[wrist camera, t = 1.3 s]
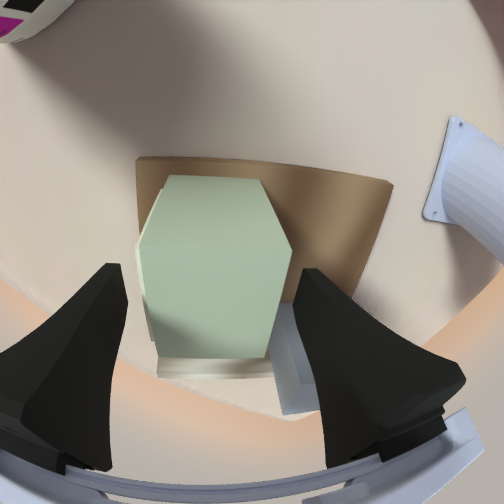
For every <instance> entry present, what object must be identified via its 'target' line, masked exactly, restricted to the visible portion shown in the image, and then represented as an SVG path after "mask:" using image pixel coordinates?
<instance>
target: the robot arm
mask: <svg viewBox="0 0 504 504" xmlns="http://www.w3.org/2000/svg"><path fill="white" fill-rule="evenodd" d="M423 216H424V217H425V218H426V219H428V220H433V221H439V222H445V223H451V224H456V225H460V226H461V227H462V228H464V229H465V230H466V231H467V232H468V233H469V234H471V235H472V236H473V237H474V238H475V239H476V240H477V241H479V242H480V243H481V244H482V245H483V246H484V247H485V248H486V249H487V250H488V251H489V252H490V253H491V254H492V255H494V256H495V257H496V258H497V259H498V260H499V261H500V262H501V263H502V264H503V265H504V147H502V146H500V145H499V144H497V143H496V142H495V141H493V140H492V139H490V138H489V137H488V136H486V135H485V134H483V133H482V132H481V131H479V130H478V129H476V128H475V127H473V126H472V125H470V124H468V123H467V122H465V121H464V120H462V119H460V118H459V117H456V116H451V118H450V120H449V124H448V129H447V133H446V138H445V142H444V146H443V150H442V153H441V157H440V161H439V164H438V168H437V171H436V174H435V177H434V181H433V184H432V187H431V190H430V193H429V196H428V199H427V202H426V204H425V207H424V210H423ZM292 306H293V311H294V317H295V321H296V326H297V329H298V332H299V335H300V338H301V341H302V344H303V347H304V349H305V352H306V355H307V358H308V361H309V364H310V367H311V370H312V373H313V377H314V380H315V385H316V390H317V394H318V400H319V405H320V411H321V417H322V425H323V433H324V442H325V455H326V456H325V457H326V466H327V469H326V470H322V471H318V472H314V473H309V474H304V475H299V476H294V477H289V478H283V479H276V480H269V481H262V482H253V483H242V484H226V485H181V484H165V483H154V482H145V481H138V480H131V479H125V478H119V477H114V476H109V475H104V474H100V473H95V472H91V471H87V470H85V469H89V470H98V471H103V472H107V471H109V470H110V469H111V468H112V459H111V448H110V431H109V429H110V426H109V416H110V394H111V382H112V375H113V370H114V366H115V361H116V357H117V353H118V349H119V345H120V341H121V338H122V334H123V330H124V326H125V321H126V314H127V307H128V299H127V295H126V290H125V286H124V281H123V276H122V271H121V266H120V264H118V263H106V264H105V265H103V266H102V267H101V268H100V269H99V270H98V271H97V272H96V273H95V274H94V275H93V276H92V277H91V278H90V279H89V280H88V281H87V282H86V283H85V284H84V285H83V286H82V287H81V288H80V289H79V290H78V291H77V292H76V293H75V294H74V295H73V296H72V297H71V298H70V299H69V300H68V301H67V302H66V303H65V304H64V305H63V306H62V307H61V308H60V309H59V310H58V311H57V312H56V313H54V314H53V315H52V316H51V317H50V318H49V319H48V320H46V321H45V322H44V323H43V324H42V325H40V326H39V327H38V328H37V329H35V330H34V331H33V332H31V333H30V334H29V335H27V336H26V337H24V338H23V339H22V340H20V341H19V342H17V343H16V344H14V345H13V346H11V347H10V348H8V349H7V350H5V351H3V352H2V353H0V501H1V502H3V503H4V504H128V503H123V502H118V501H113V500H110V499H109V498H108V497H107V495H106V494H105V493H109V494H114V495H119V496H124V497H130V498H136V499H143V500H151V501H161V502H172V503H196V504H199V503H201V504H209V503H235V502H248V501H257V500H265V499H272V498H278V497H284V496H290V495H295V494H300V493H304V492H309V491H313V490H317V489H321V488H325V487H329V486H332V485H336V484H339V483H342V482H346V481H347V482H346V483H345V484H344V487H343V488H342V489H339V490H336V491H333V492H329V493H326V494H322V495H319V496H315V497H312V498H307V499H303V500H302V504H423V503H424V502H425V501H427V500H428V499H429V498H431V497H432V496H433V495H434V494H436V493H437V492H438V491H439V490H440V489H441V488H443V487H444V486H445V485H446V484H448V482H450V481H451V480H452V479H453V478H454V477H455V476H456V475H458V473H460V472H461V471H462V470H463V469H464V468H465V467H467V466H468V465H469V464H470V463H471V462H472V461H473V460H475V459H476V458H477V457H478V456H479V455H480V454H481V453H482V452H484V450H485V449H484V447H483V444H482V442H481V439H480V437H479V435H478V433H477V430H476V428H475V427H474V424H473V422H472V420H471V418H470V415H469V413H468V412H467V409H466V408H465V407H464V408H462V409H461V410H459V411H457V412H456V413H454V414H452V415H451V416H449V417H447V418H446V419H444V420H443V418H442V416H441V415H442V414H444V413H445V410H444V408H443V404H444V403H446V402H447V401H448V400H449V399H450V398H452V397H453V396H454V395H455V394H456V393H457V392H458V391H459V390H460V389H461V388H462V387H463V385H464V384H465V383H466V377H465V376H464V374H463V372H462V370H461V369H460V367H459V365H458V364H457V363H456V362H453V361H451V360H448V359H445V358H443V357H440V356H438V355H435V354H433V353H431V352H429V351H427V350H424V349H423V348H421V347H419V346H417V345H415V344H413V343H411V342H410V341H408V340H406V339H404V338H403V337H401V336H399V335H398V334H396V333H395V332H393V331H392V330H390V329H389V328H387V327H386V326H384V325H383V324H382V323H380V322H379V321H377V320H376V319H375V318H373V317H372V316H371V315H370V314H368V313H367V312H366V311H365V310H364V309H362V308H361V307H360V306H359V305H358V304H356V303H355V302H354V301H353V300H352V299H351V298H350V297H348V296H347V295H346V294H345V293H344V292H343V291H342V290H341V289H340V288H339V287H338V286H336V285H335V284H334V283H333V282H332V281H331V280H330V279H329V278H328V277H327V276H325V275H324V274H323V273H322V272H321V271H320V270H318V269H317V268H303V270H302V274H301V277H300V281H299V284H298V288H297V291H296V294H295V298H294V301H293V304H292ZM103 492H105V493H103Z"/></svg>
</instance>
